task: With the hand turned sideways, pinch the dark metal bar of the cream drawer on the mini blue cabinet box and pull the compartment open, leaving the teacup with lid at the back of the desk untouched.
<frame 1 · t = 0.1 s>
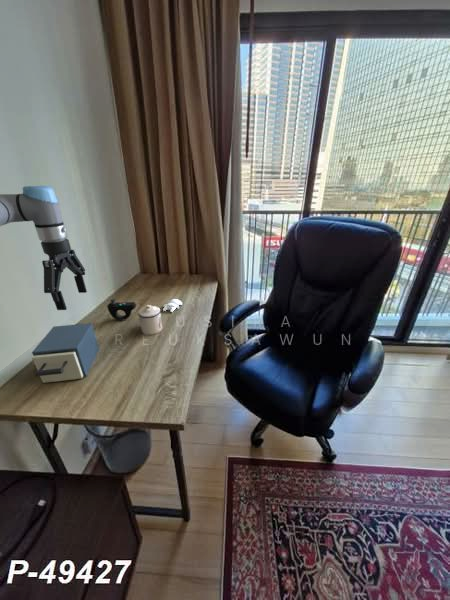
hand: (73, 300, 88), 20 cm above the table, tool pointing down, fingers open, 13 cm apart
teacup with lid: (151, 328, 109), on the table
blue cabinet box: (74, 364, 89), on the table
astronaut figurine: (172, 307, 127), on the table
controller: (124, 319, 117), on the table
drawer: (63, 359, 82), point 6 cm above the table, slide at 0.5 cm
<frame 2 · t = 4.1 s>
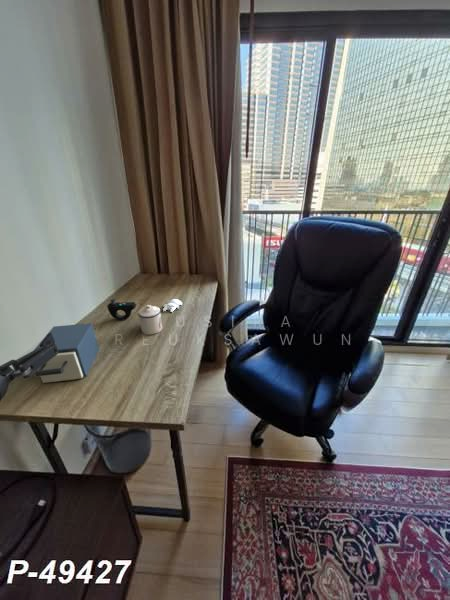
hand: (21, 344, 64), 21 cm above the table, tool horizontal, fingers open, 13 cm apart
nothing on the table moved.
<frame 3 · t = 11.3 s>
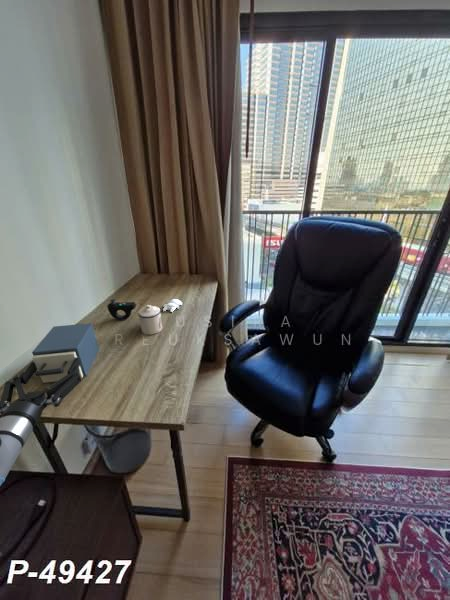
hand: (56, 363, 77), 8 cm above the table, tool horizontal, fingers closed on drawer, 12 cm apart
drawer: (63, 359, 82), point 6 cm above the table, slide at 0.5 cm, touching gripper
everything else where it was.
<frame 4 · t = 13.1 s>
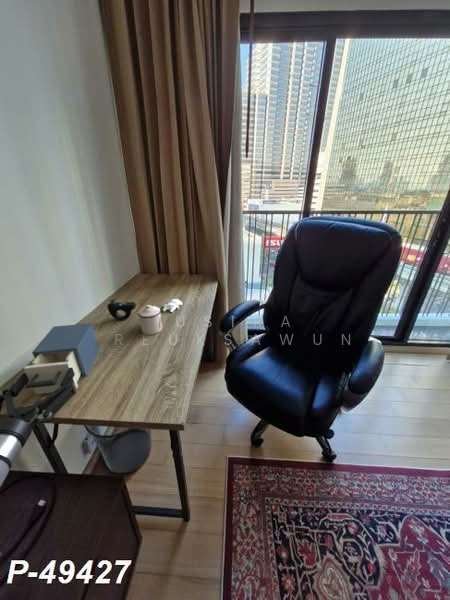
hand: (49, 373, 73), 8 cm above the table, tool horizontal, fingers closed on drawer, 12 cm apart
drawer: (57, 369, 78), point 6 cm above the table, slide at 5.2 cm, touching gripper
everything else where it was.
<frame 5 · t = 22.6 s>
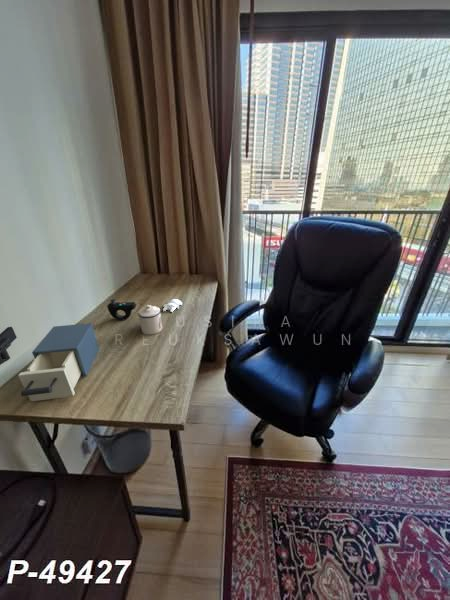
drawer: (53, 375, 75), point 6 cm above the table, slide at 7.9 cm
everything else where it was.
at the end: drawer slide at 7.9 cm; teacup with lid moved 0.2 cm from its start; teacup with lid tilted 0° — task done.
